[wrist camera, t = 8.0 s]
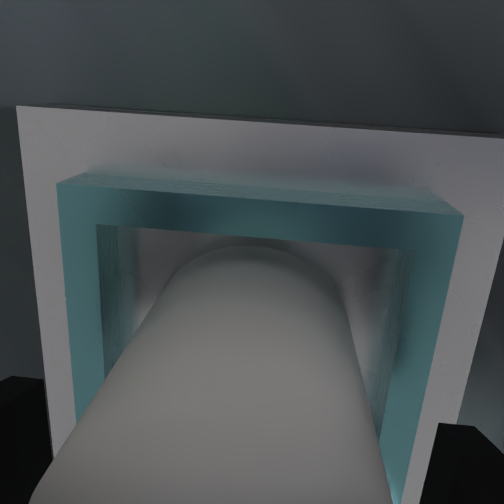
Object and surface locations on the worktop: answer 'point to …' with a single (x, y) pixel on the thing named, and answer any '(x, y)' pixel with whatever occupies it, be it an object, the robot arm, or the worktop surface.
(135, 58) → the worktop surface
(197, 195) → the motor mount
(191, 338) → the grey rounded piece
